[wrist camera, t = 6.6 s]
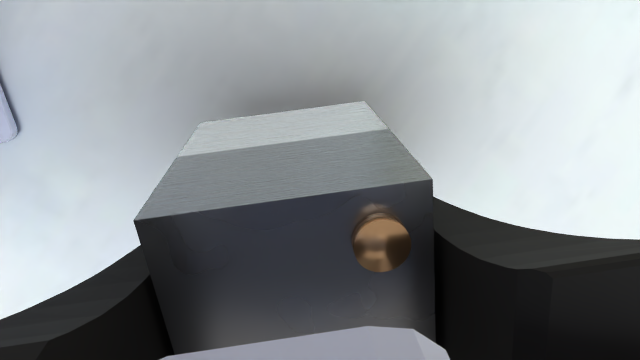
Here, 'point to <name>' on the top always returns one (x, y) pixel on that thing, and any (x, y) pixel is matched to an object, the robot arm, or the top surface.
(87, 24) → the top surface
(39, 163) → the top surface
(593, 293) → the robot arm
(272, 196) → the housing
